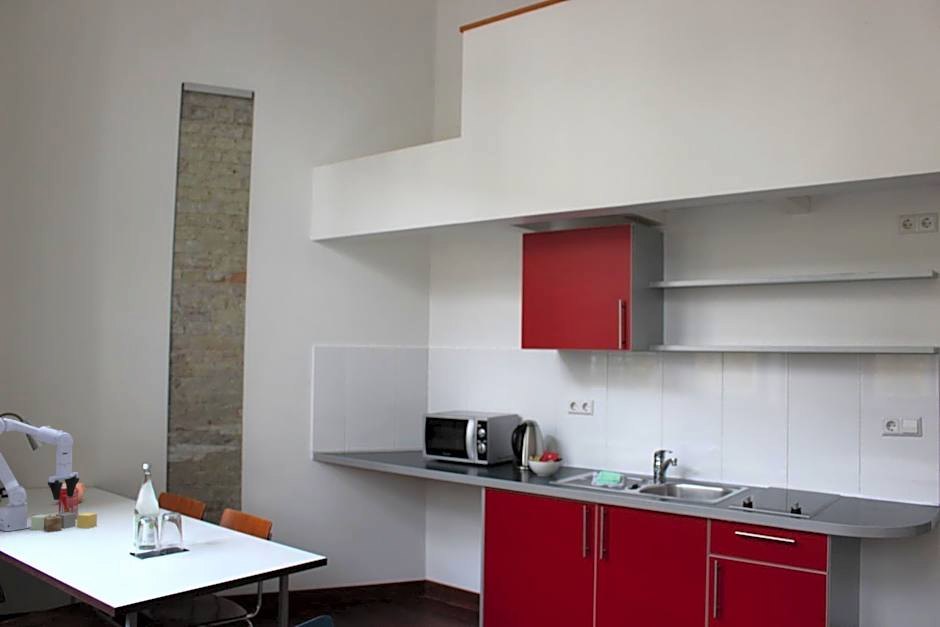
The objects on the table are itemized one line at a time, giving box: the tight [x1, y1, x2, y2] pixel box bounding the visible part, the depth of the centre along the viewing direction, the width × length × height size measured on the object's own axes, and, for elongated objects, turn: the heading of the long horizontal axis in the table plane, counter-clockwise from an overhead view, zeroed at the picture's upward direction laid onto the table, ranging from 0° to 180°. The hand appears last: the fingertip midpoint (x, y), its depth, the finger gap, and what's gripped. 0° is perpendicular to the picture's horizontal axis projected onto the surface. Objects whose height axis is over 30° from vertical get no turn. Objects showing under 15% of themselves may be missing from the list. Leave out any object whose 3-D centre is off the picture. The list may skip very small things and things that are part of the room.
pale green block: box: [30, 514, 52, 531], centre depth 340 cm, size 5×5×5 cm
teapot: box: [57, 482, 86, 504], centre depth 393 cm, size 12×12×10 cm
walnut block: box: [44, 515, 62, 533], centre depth 337 cm, size 5×5×5 cm
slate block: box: [55, 512, 76, 529], centre depth 344 cm, size 5×5×5 cm
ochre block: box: [76, 512, 98, 530], centre depth 344 cm, size 5×5×5 cm
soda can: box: [58, 485, 79, 519], centre depth 359 cm, size 7×7×13 cm
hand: (63, 498), depth 348 cm, fingers open, 7 cm apart
